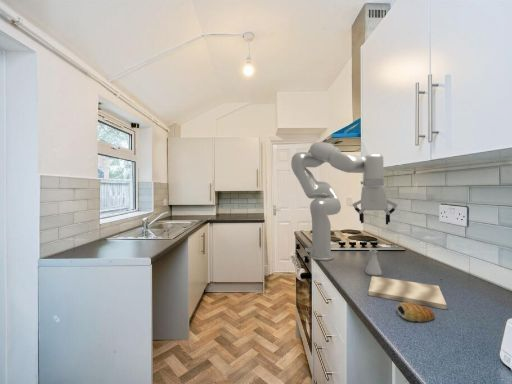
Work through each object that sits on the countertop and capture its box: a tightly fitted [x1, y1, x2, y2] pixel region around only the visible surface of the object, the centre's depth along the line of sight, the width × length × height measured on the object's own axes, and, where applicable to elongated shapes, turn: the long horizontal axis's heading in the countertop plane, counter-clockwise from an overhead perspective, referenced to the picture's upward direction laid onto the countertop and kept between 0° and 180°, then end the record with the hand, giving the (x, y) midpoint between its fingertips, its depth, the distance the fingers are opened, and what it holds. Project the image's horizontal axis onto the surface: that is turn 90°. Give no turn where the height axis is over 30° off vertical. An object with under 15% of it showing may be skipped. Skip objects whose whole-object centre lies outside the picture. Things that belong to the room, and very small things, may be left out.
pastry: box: [395, 301, 435, 323], centre depth 73 cm, size 9×7×4 cm
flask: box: [364, 249, 383, 277], centre depth 108 cm, size 7×7×10 cm
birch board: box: [368, 275, 448, 311], centre depth 89 cm, size 22×16×2 cm
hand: (374, 223), depth 107 cm, fingers open, 9 cm apart
